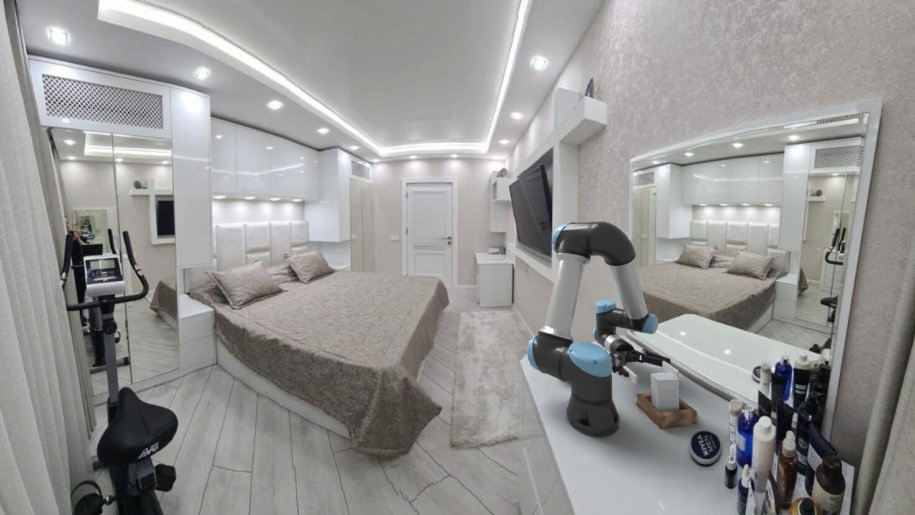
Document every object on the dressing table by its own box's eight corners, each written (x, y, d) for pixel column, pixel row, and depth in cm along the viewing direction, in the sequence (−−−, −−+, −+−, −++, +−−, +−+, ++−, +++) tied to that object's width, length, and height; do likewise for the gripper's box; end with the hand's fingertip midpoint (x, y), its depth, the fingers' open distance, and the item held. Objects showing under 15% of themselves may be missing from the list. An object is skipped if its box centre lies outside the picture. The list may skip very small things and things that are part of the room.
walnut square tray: (660, 428, 89) (660, 416, 89) (636, 405, 100) (636, 394, 100) (696, 424, 90) (697, 411, 89) (669, 401, 101) (669, 389, 100)
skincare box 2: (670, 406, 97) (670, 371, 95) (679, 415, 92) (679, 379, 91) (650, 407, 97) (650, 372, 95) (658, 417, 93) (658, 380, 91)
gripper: (651, 353, 120) (694, 383, 99) (588, 361, 119) (618, 393, 98) (650, 335, 119) (695, 361, 98) (587, 342, 118) (618, 371, 97)
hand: (657, 377), depth 98 cm, fingers open, 13 cm apart
